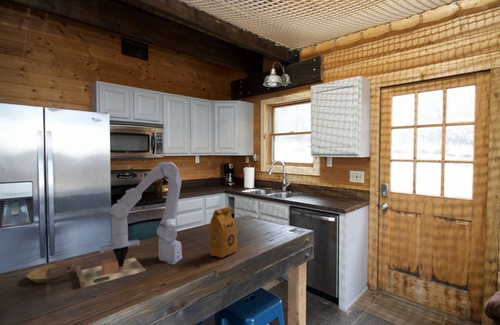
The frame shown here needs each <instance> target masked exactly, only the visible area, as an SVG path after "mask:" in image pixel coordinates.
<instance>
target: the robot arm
mask: <svg viewBox="0 0 500 325" xmlns="http://www.w3.org/2000/svg"><path fill="white" fill-rule="evenodd" d="M159 179H165V180H166V182H168V189H167V192H166V193H167V194H166V199H165V205H164V210H163V216H162V218H161V220H160V224H159V226H158V227H157V229H156V235H157V236H159V238H158V259H159V261H163V262H165V263H167V264H168V265H175V264H177V263H178V262H179V261H180V260H182V259H183V256H182V254H183V253H182V252H183V251H182V242H181V241H179V240H176V239H177V237H178V232H177V223H176V215H177V210H178V205H179V198H180V193H181V187H182V178H181V175H180V172H179V167H178V166H177V165H176V164H175V163H174V162H172V161H160V162H159V163H157V165H155V166H154V167H152V169H151V170H150V171H149V172H148V173H147V174H146V176H145V177H144V178H143V179H141V181H140V182H139V183H138V185H136V187H132V188H129V189H126V191H125V194H123V196H122V197H121V198H120V199H117V200H116V202H117V203H114V204H113V205H112V206H111V208H110V210H109V212H110V214H111V215H112V216H111V221H112V222H111V236H112V238H111V240H112V241H111V242H112V243H109V244H107V245H102V246H100V247H99V253H100V254H103V253H106V252H110V251H112V252H113V253H114V255H115V258H116V260H117V261H118V265H119V267H123V264H124V260H126V257H127V255H128V253H129V250H130V249H129V248H130V247H135V246H140V245H141V244H140V243H141V242H140V239H132V240H129V230H128V229H129V228H128V227H129V226H128V223H129V222H128V216H129V214H130V210H131V209H132V208H133V207H134V206H135V205H136V204H137V203H138V202H139V201H141V199H142V197H143V196H142V195H143V193H144V192H145V190H147V188H149V187H150V186H151V185H152V184H153V183H154V182H155V181H156V180H159Z"/></svg>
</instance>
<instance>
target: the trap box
mask: <svg viewBox="0 0 500 325" xmlns="http://www.w3.org/2000/svg"><path fill="white" fill-rule="evenodd" d="M143 272H147V270H146V268H145V267H144V266H143V265H142V264H141V263H140V262H139V261H138V260H137V259H136V258H135V257H132V258H127V259H125V260H124V264H123V267H119V265H118V272H115V273H111V274H107V275H104V274H103V272H102V265H98V266H93V267H90V268H86V269H82V268H81V266H80V265H77V266H75V273H76V276H77V279H78V283H79V285H80V289H83V288H86V287H91V286H94V285H98V284H100V283H101V284H102V283H105V282H109V281H113V280H116V279H121V278H123V277H128V276H132V275H135V274H138V273H143ZM105 277H107V278H108V279H105V280H101V281H97V282H94V280H98V279H102V278H105Z"/></svg>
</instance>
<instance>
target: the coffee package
mask: <svg viewBox="0 0 500 325" xmlns="http://www.w3.org/2000/svg"><path fill="white" fill-rule="evenodd" d="M231 211H232V207H231V206H226V207H222V208H218V209H216V210H214V211H213V214H212V217H211V218H210V221H209V222H210V223H209V238H208V239H209V255H210V256H213V257H217V258H225V257H226V256H230V255H231V254H234V253H236V252H237V250H238V240H237V238H238V237H237V235H238V231H237V230H238V229H237V226H236V222H235V219H233V216H232V214H231V213H232V212H231Z"/></svg>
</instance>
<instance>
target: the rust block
mask: <svg viewBox="0 0 500 325" xmlns="http://www.w3.org/2000/svg"><path fill="white" fill-rule="evenodd" d="M101 266H102V272H103V274H104V275H107V274H111V273H115V272H118V261H117V258H116V257H114V258H109V259H104V260H101Z"/></svg>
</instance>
